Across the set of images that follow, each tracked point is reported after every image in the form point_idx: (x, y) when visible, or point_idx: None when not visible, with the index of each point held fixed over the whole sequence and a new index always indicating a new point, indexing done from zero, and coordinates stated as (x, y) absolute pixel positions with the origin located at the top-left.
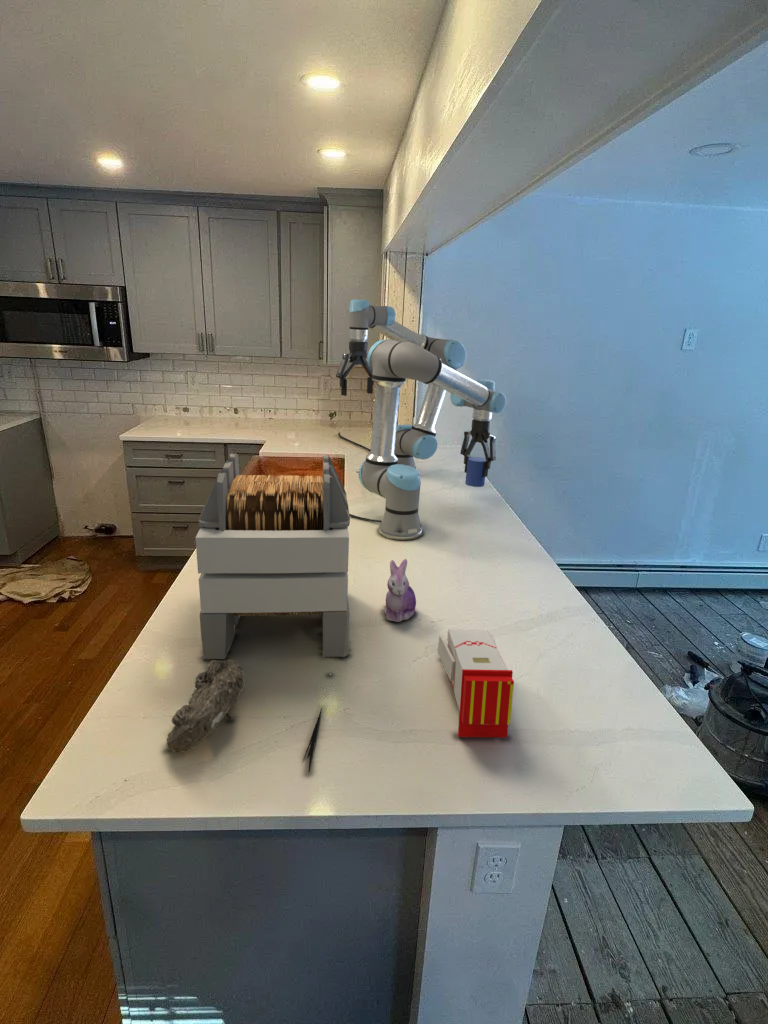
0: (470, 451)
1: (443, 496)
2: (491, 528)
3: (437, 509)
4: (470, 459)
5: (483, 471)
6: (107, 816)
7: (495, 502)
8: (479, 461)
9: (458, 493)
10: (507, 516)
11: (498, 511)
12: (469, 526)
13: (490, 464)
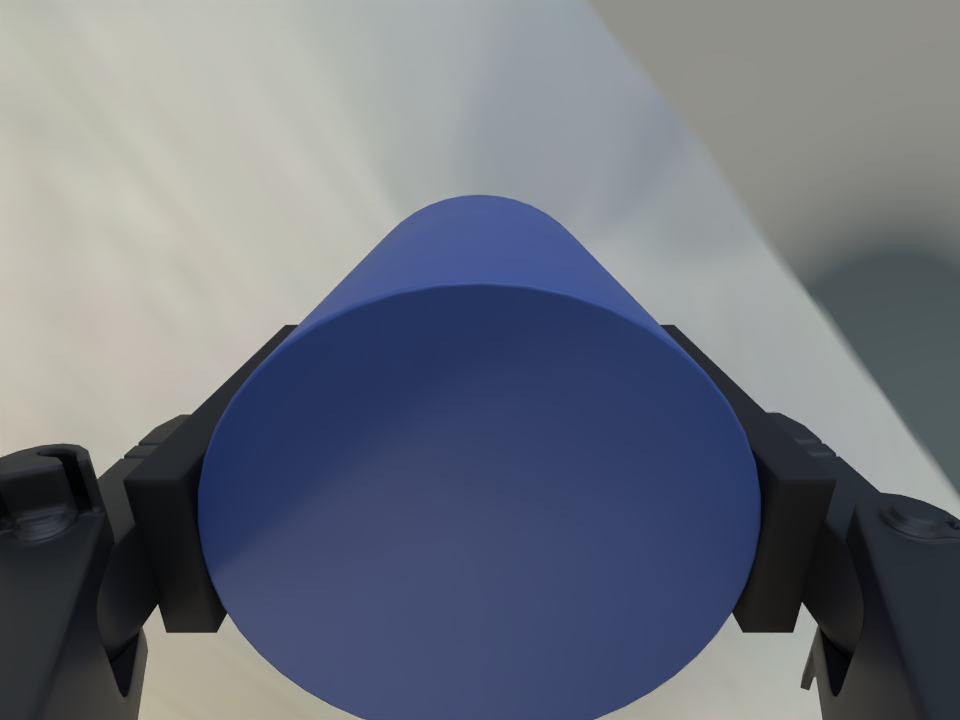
0: (86, 696)
1: (226, 356)
2: None
3: None
4: (379, 695)
5: None
6: None
7: (668, 143)
8: (639, 693)
9: (244, 170)
10: (875, 404)
11: (777, 353)
12: (709, 689)
13: (851, 472)
